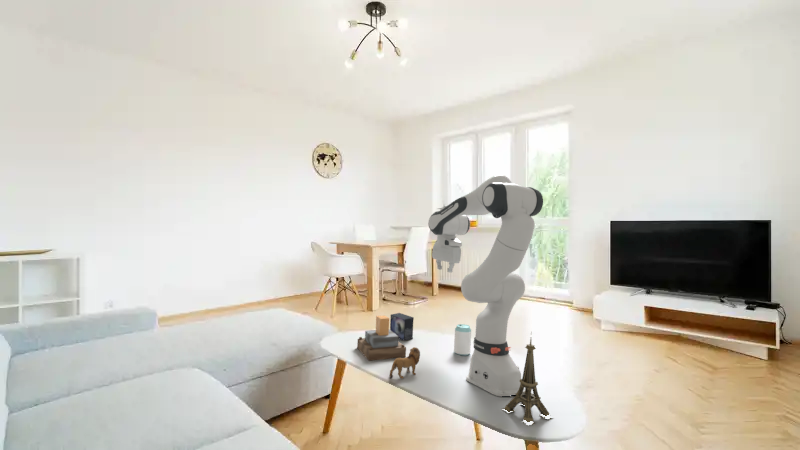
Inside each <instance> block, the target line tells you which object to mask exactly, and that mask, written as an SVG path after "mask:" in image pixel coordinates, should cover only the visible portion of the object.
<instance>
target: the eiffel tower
mask: <svg viewBox="0 0 800 450" xmlns="http://www.w3.org/2000/svg"><path fill="white" fill-rule="evenodd" d="M530 334H532V331H531V333H530ZM524 348H525V349H526V357H525V364H524V368H523V373H522V376H521V379H520V381H519V382H521V384H520V387H519V390H518V392H517V393H515V395H516V396H513V398H512V399H511V400H510V401H509V402H508V403H507V404H506V405H505V407H503V408H502V409H505V410H507V411H508V412H510V411H514V410H515V408H516V407H517V406H518V405H519V404H523V405H525V407H526V408H525V409H524V410H525V411H524V415H523V419H524V420H526V421H527V422H530V421H534V418H533V412H532V408H533V406H535V407H536V408H537V410H538V411H539V413H540V414H543V415H545V416H547V415H549V414H550V412H549V411H548V408H546V407H545V405H544V403H543V402H542V400H541V396H540V395H539V393H538V388H537V387H538V385H539V383H538V381H536V371H535V370H536V369H535V360H534V359H535V358H534V350H536V347H535V345H534V344H532V338H530V339H529V344H526V346H525V347H524ZM524 387H525V392H523V389H524Z"/></svg>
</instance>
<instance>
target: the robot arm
mask: <svg viewBox="0 0 800 450" xmlns="http://www.w3.org/2000/svg"><path fill="white" fill-rule="evenodd" d="M543 205H544V197H543V194H542V193H541V192H540V190H538V189H537V188H534V187H530V186H524V185H521V184H517V183H513V182H512V181H511V179H510V178H509V177H507V176H506V175H503V174H495V175H493V176H491V177H490V178H489V177H488V179H487V180H485V181H483V182H482V183H481V184H480V185H478V187H476V188H475V189H474V190H471V192H469V193H467V194H465V195H463V196H461V197H459V198H456V199H455V200H454V201H452V202H450V203H449V204H448V205H446V206H442V207H441V208H440V209H439V210H438V211H434V212H433V213H432V214H431V215H430V217H429V219H428V228H429V230H430V231H431V232H432V233H433V234H434V235H436V241H435V242H434V244H433V246H432V251H431V252H432V253H431V257H432V259H434V260H436V265H437V267H436V268H437V270H443V265H442V262H447V263H448V267H447V272H448V273H453V269H454V266H455V265H456V264H459V263H460V262H461V257H462V248H461V247H462V246H463V242H462V241H461V240H459V238H458V237H457V236H464V235H466V234H467V233H468V232H469V231H470V227H471V220H470V218H469V217H468V216H486V215H488V214H491V215H492V217H493V219H499V218H501V219H500V220H501V225H500V228H499V230H498V233H497V236H496V238H495V241H494V243H493V245H492V248H491V250H490V251H489V254H488V255H487V256H486V258H485V259H484V260H483V262H481V264H480V265H479V266H477V268H476V269H474V270H473V271H472V272H470V273H469V274H467V275H465V276H464V277H463V279H462V281H461V284H460V289H461V293H462V296H463V297H464V298H465V300H466V301H468V302H472V303H477V304H485V303H487V304H486V306H485V308H484V309H483V310H482V311H481V312H480V313H478V314H477V316H476V319H475V334H474V335H475V337H474V338H473V349H474V350H473V353H472V355H471V356H470V363H469V370H468V375H467V376H466V377H465V379H466V381H467V382H469V383H470V384H472V385H475V386H476V387H478V388H480V389H481V390H484V391H485V392H488V393H490V394H492V395H493V396H496V397H502V396H510V395H515V393H517V392H518V390H519V387H520V384H521V382H519V381H520V379H522V373H521V372H522V371H521V370H520V367H519V366H518V365H517V364H516V363H515V361H514V360H513V358H512V357H511V355H510V349H511V348H512V347H511V346H509V345H508V341H507V334H508V333H507V332H508V323H509V318H510V315H511V312H512V310H513V308H514V306H515V305H516V303H517V302H518V301H519V300H520V299H521V298H522V297H523V295H524V294H525V291H526V286H525V281H524V279H523V278H522V277H521V275H519V274H516V273H514V272H515V271H517V270H518V269H519V268H520V266H521V264H522V262H523V260H524V258H525V255H526V253H527V250H528V248H529V246H530V243H531V241H532V237H533V233H534V230H535V221H534V218H533V217H535V216H537V215H538V214H539V213H540V212H541V211H542V209H543ZM523 392H525V387H524V389H523ZM510 397H511V396H510Z"/></svg>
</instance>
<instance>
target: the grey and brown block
mask: <svg viewBox="0 0 800 450" xmlns="http://www.w3.org/2000/svg"><path fill="white" fill-rule="evenodd" d="M399 340H400V339H399V336H397V335H396V334H395V333H393V332H392V331H391V330H390V329H389V334H388V335H381V336H379V335H378V334H377V333H376V329H373V330H372V329H370V330H365V331H364V337H363V336H359V337H358V338H357V345H356V347H357V349H358V350H359V352H360V353H361V354H362V355H363V356H364V357H365V359H367V360H368V361H369V362H370V361H379V360H390V359H397V358H406V357H407V356H406V355H407V347H406V346H405V344H403V343H401V342H400V341H399Z"/></svg>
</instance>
